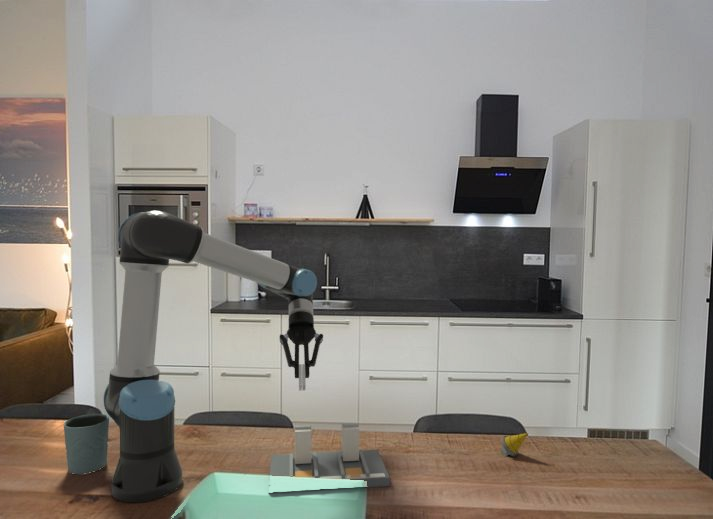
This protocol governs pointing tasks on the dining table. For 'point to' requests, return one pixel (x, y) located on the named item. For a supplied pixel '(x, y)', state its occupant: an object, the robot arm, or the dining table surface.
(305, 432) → the tab left
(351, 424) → the tab right
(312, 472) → the switch bank
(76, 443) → the teal cup
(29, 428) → the dining table surface
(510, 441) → the yellow spinning top
